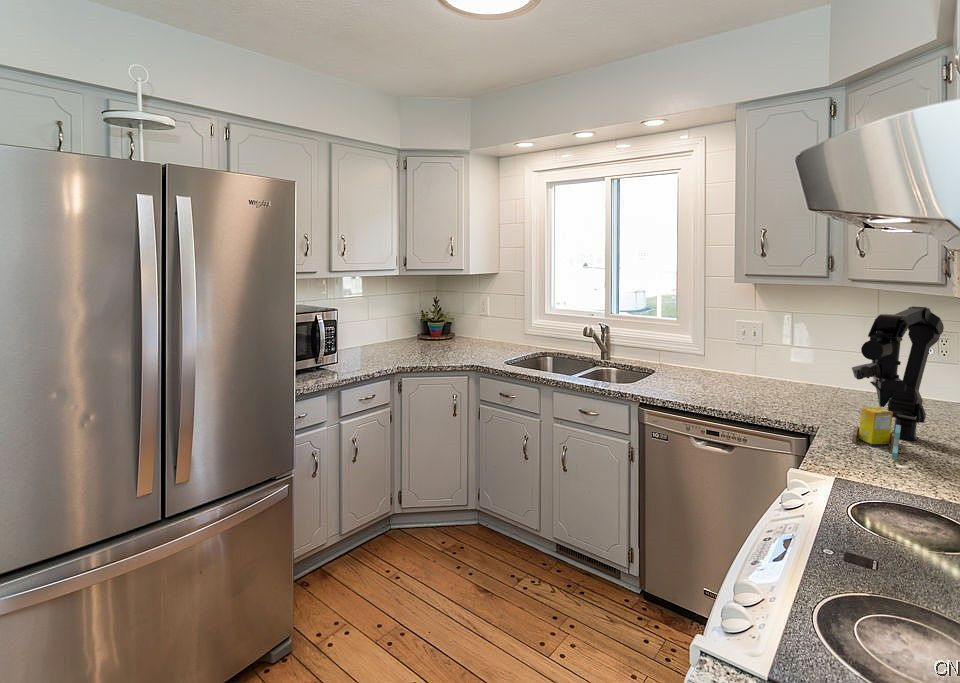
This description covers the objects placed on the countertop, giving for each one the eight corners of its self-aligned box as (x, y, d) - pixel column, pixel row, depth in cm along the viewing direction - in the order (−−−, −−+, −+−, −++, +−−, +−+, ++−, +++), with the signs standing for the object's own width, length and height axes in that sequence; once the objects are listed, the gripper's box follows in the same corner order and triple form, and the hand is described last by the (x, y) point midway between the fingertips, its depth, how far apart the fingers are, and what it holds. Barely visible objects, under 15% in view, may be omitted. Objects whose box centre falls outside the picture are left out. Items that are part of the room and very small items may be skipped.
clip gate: (891, 459, 162) (894, 432, 161) (892, 450, 170) (896, 424, 169) (896, 460, 161) (900, 432, 160) (897, 451, 169) (901, 425, 168)
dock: (853, 435, 186) (854, 426, 185) (894, 442, 179) (895, 433, 179) (851, 443, 178) (852, 433, 177) (894, 450, 172) (896, 440, 171)
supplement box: (875, 440, 181) (879, 407, 179) (889, 446, 175) (893, 412, 173) (857, 440, 181) (861, 407, 179) (871, 446, 175) (875, 412, 173)
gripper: (848, 350, 182) (844, 397, 185) (863, 360, 165) (858, 412, 167) (890, 352, 178) (884, 400, 181) (909, 362, 161) (903, 415, 163)
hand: (881, 406), depth 173 cm, fingers closed
